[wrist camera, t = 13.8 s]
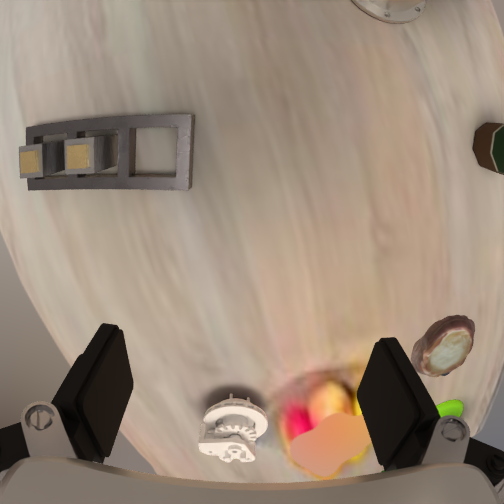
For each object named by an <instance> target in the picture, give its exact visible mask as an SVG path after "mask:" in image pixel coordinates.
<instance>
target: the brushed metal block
mask: <svg viewBox="0 0 504 504" xmlns="http://www.w3.org/2000/svg"><path fill="white" fill-rule="evenodd" d="M117 165H118V135H107V136H92V137H83V138H75V139H68V140H65V174H90V173H97V172H100V171H102V170H105V169H108V168H111V167H114V166H117Z"/></svg>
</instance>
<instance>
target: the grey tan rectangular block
mask: <svg viewBox="0 0 504 504" xmlns="http://www.w3.org/2000/svg"><path fill="white" fill-rule="evenodd" d="M19 165H20V178H34V177H44V176H47V175H50V174H54V173H57V172H60V171H63V170H65V140H61V141H51V142H44V143H38V144H32V145H27V146H21V147H19Z"/></svg>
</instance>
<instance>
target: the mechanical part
mask: <svg viewBox="0 0 504 504" xmlns="http://www.w3.org/2000/svg"><path fill="white" fill-rule="evenodd" d="M267 425H268V423H267V415H266V414H265V412H264V411H263V410H262V409H261V408H259V407H258V406H256V405H253V404H252V403H251V402H250V398H249V397H247V400H244V399H238V398H233V394H232V393H230V399H226V400H223V401H221V402H220V403H218V404H215V405H213V406H211V407H210V408H209V409H208V410H207V411H206V413H205V415H204V424H203V423H201V428H200V436H199V448H200V451H201V452H203V453H205V454H208V455H218V457H219V459H221V460H223V461H226V462H231V460H233V459H234V458H235V459H240V460H241V462H251V461H254V460H255V458H256V453H255V442H254V441H255V440H256V438H257V437H259V436H261V435H262V434H263V433H264V432H265V431H266V429H267Z"/></svg>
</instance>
